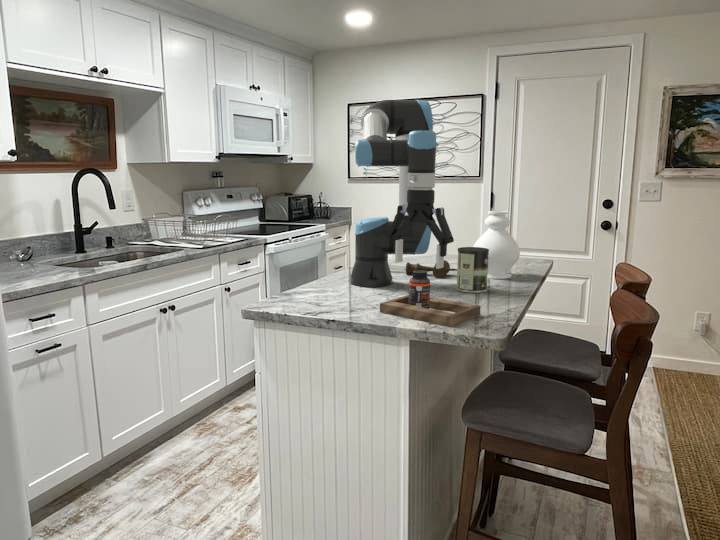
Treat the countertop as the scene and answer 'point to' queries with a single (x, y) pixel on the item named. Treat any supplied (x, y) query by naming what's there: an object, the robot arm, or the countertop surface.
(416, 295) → the supplement bottle
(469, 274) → the coffee can
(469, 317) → the brown wooden picture frame
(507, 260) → the decorative vase
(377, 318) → the countertop surface
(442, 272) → the kendama
